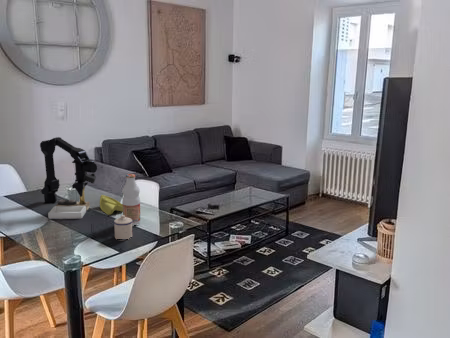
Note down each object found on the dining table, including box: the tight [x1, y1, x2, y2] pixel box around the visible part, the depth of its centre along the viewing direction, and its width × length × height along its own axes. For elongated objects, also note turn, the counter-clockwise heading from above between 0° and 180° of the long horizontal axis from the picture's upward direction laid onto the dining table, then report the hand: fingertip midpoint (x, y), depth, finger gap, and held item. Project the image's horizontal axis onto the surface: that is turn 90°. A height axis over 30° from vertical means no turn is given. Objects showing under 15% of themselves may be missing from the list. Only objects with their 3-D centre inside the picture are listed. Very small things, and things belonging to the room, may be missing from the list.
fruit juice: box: [121, 173, 141, 227], centre depth 222 cm, size 9×9×28 cm
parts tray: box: [47, 205, 87, 220], centre depth 235 cm, size 18×12×4 cm, turn 97°
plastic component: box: [99, 194, 123, 216], centre depth 247 cm, size 20×7×10 cm
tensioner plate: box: [55, 198, 91, 212], centre depth 246 cm, size 18×8×5 cm, turn 97°
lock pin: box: [78, 186, 86, 204], centre depth 245 cm, size 4×4×10 cm
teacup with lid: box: [113, 214, 133, 240], centre depth 206 cm, size 12×9×12 cm
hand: (81, 195), depth 246 cm, fingers closed on lock pin, 3 cm apart
